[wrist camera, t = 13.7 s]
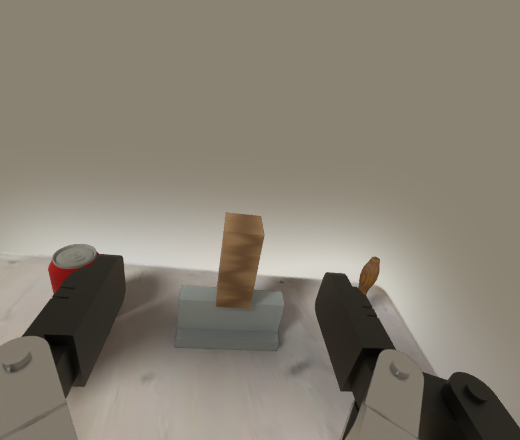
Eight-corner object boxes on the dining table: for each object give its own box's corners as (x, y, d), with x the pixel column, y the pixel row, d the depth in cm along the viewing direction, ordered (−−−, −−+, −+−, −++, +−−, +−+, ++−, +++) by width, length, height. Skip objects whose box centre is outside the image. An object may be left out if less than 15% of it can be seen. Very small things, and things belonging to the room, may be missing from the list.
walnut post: (215, 306, 42) (224, 231, 36) (217, 283, 46) (225, 212, 40) (249, 308, 42) (264, 235, 36) (248, 285, 47) (261, 216, 41)
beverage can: (93, 293, 50) (84, 236, 45) (118, 312, 48) (112, 254, 42) (51, 316, 45) (35, 254, 39) (76, 339, 42) (63, 277, 37)
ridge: (174, 347, 44) (175, 309, 40) (182, 312, 50) (183, 276, 46) (276, 350, 46) (286, 315, 42) (271, 316, 52) (280, 283, 48)
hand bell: (368, 354, 49) (406, 282, 41) (320, 334, 51) (348, 263, 43) (369, 320, 56) (402, 253, 48) (327, 304, 58) (352, 238, 50)
